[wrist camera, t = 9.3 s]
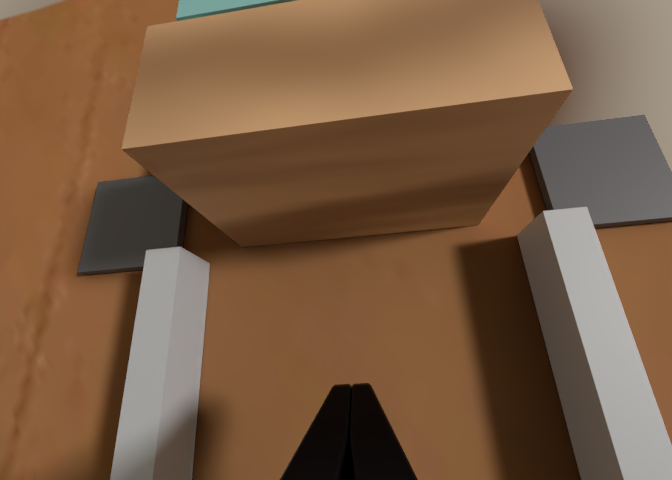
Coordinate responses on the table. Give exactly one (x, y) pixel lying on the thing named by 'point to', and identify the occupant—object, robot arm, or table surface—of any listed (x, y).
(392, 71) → the step block
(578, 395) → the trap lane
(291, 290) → the table surface
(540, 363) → the table surface
